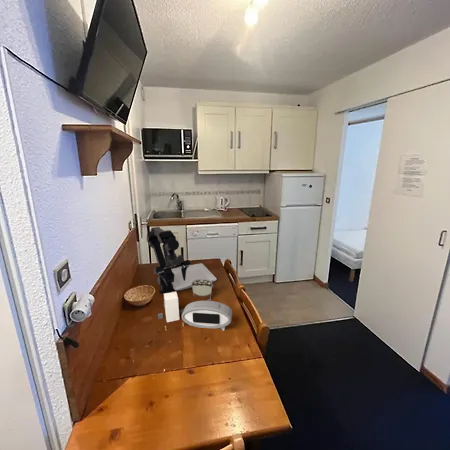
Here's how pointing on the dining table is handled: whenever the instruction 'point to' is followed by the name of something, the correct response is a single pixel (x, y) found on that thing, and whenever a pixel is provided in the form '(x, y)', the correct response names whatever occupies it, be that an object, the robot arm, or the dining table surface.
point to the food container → (202, 288)
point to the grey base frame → (162, 316)
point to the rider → (171, 306)
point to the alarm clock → (207, 314)
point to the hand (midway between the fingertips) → (176, 283)
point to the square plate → (191, 276)
